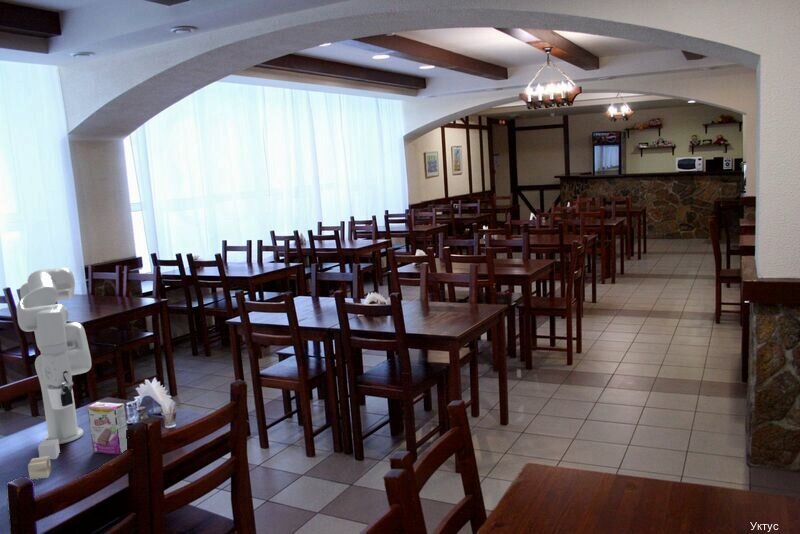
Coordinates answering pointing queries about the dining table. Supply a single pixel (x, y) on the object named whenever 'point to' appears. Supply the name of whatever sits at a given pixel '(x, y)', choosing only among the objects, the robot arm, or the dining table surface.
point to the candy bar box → (108, 427)
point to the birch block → (39, 467)
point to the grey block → (49, 449)
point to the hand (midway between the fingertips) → (61, 402)
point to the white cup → (56, 397)
